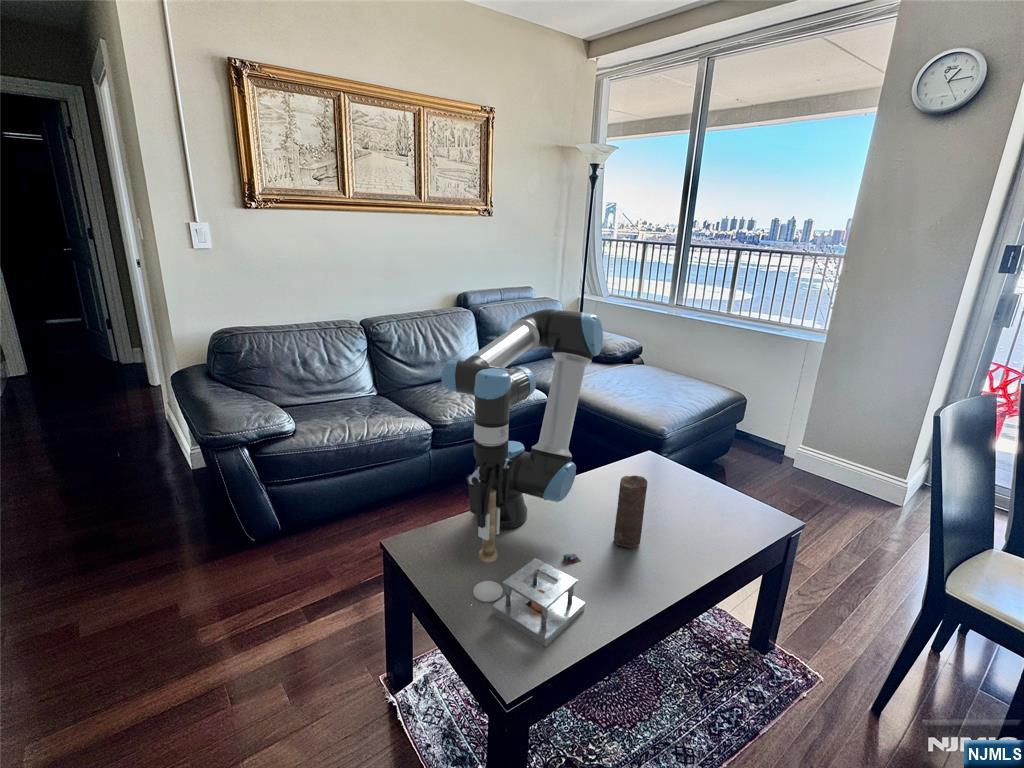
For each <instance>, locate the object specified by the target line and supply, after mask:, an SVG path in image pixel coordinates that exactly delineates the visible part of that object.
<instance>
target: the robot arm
mask: <svg viewBox="0 0 1024 768" xmlns="http://www.w3.org/2000/svg"><path fill="white" fill-rule="evenodd" d="M603 330H604V329H603V323H602V321H601V319H600V317H599V316H598V315H596V314H595V313H594V314H593V313H588V312H585V311H570V310H562V309H561V310H560V309H551V308H548V309H540V310H537V311H534V312H531V313H527V315H524V316H521V317H520V318H519V319H517V320H515V321H514V322H513V323H512V324H511V326H510V328H509V329H508V330H507V331H506V332H504V333H503V334H501V335H500V336H498V337H497V338H495V339H494V340H493V341H491V342H490V343H488V344H487V345H485V346H484V347H482V348H481V349H479V350H477V351H476V352H475V353H473V354H471V356H469V357H467V358H466V359H465V360H460V359H456V360H455V359H449V360H448V361H446V362H445V364H443V367H442V370H441V373H440V378H441V384H442V386H443V388H444V389H445V390H447V391H452V392H456V394H457V393H458V394H466V395H471V396H474V422H473V423H474V425H473V429H474V430H473V439H474V441H473V457H474V459H475V462H476V464H475V466H474V471H473V473H472V474H467V475H466V476H465V480H466V482H467V484H468V485H467V486H468V497H469V511H470V513H471V514H473V515H474V516H476V518H477V519H476V520H477V521H476V525H477V527H478V530H477V531H478V532H477V533H478V537H479V538H481V539H482V540H483V539H485V540H486V541H487V540H489V530H490V514H489V513H487V511H488V503H489V495H490V488H492V489H495V490H496V515H495V535H499V534H500V530H511V529H515V528H518V527H520V526H522V525H523V524H525V522H526V521H527V518H528V507H527V505H526V504H525V499H524V495H523V494H525V495H528V496H532V497H535V498H540V499H543V500H544V501H551V502H555V503H558V502H561V501H564V500H565V499H566V498H567V496H568V494H569V493H570V492H571V490H572V487H573V485H574V482H575V479H576V474H577V472H576V470H577V466H576V464H575V463H574V462H573V461H572V459H573V455H572V453H571V452H570V450H569V447H570V443H571V442H570V441H571V437H572V432H573V427H574V422H575V417H576V413H577V407H578V404H579V403H578V402H579V400H580V399H579V398H580V394H581V388H582V384H583V378H584V373H585V370H586V367H587V366H588V365H590V364H591V363H592V360H593V357H596V356H599V355H600V353H601V351H602V349H603V340H604V334H603V333H604V331H603ZM538 348H542V349H547V350H548V349H549V350H552V351H551V355H552V357H553V358H554V360H555V364H554V369H553V373H552V377H551V382H550V387H549V390H548V391H549V392H548V396H547V401H546V406H545V410H544V415H543V420H542V424H541V425H542V426H541V428H540V433H539V439H538V441H537V443H536V444H534V445H532V446H531V450H530V452H528V451H526V450H525V449H526V448H525V446H524V444H523V443H522V442H520V441H515V440H509V431H510V429H509V424H510V408H512V407H513V406H515V405H516V404H519V403H521V402H523V401H525V400H526V399H528V398H529V397H530V396H531V395H532V394H533V393H534V392H535V390H536V388H537V379H536V376H535V374H534V373H533V371H531V369H529V368H528V367H525V366H514V367H512V368H510V369H509V368H506V367H508V366H509V365H510V364H511V363H513V362H514V361H515V360H516V359H518V358H519V357H520V356H521V355H523V354H524V353H525V352H531V351H533V350H535V349H538Z"/></svg>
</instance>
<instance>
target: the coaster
mask: <svg viewBox="0 0 1024 768" xmlns="http://www.w3.org/2000/svg"><path fill="white" fill-rule="evenodd" d="M472 592H473V596H474V598H476V599H477V600H478V601H480V602H484V603H493V602H495V601H496V602H497V601H499V600H500V599H501V597H502V595H503V593H504V590H503V587H502V585H500V584H499V583H497V582H494V581H492V580H491V581H490V580H484V581H481V582H479V583H477V584H476V585H475V586H474V587H473V591H472Z"/></svg>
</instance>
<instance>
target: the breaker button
mask: <svg viewBox="0 0 1024 768" xmlns="http://www.w3.org/2000/svg"><path fill="white" fill-rule="evenodd" d="M537 591H539V592H541V593H545V591H542V590H537ZM530 608H532V609H533V610H535V611H537V612H538V613H540V614H542V607H540V606H538V605H537V604H535V603H533V602H532V601H531V607H530Z"/></svg>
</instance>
